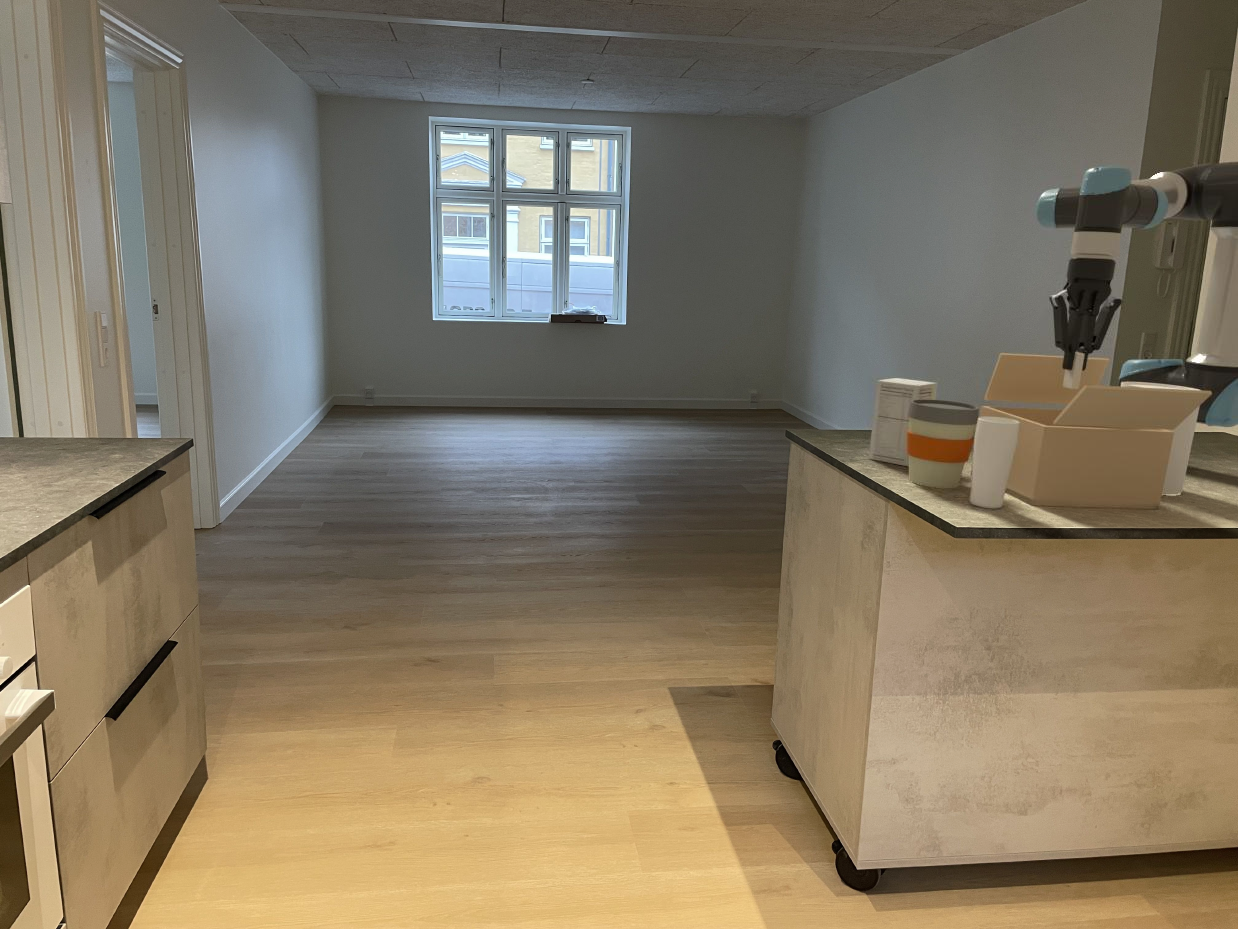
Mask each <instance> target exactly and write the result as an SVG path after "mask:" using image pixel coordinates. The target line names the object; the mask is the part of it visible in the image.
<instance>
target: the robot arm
mask: <svg viewBox="0 0 1238 929" xmlns="http://www.w3.org/2000/svg"><path fill="white" fill-rule="evenodd" d="M1035 211H1036V212H1035V216H1036V220H1037V221H1038V223H1039V225H1040V226H1042V227H1044V228H1049V229H1050V228H1051V229H1055V230H1056V229H1074V230H1073V237H1072V241H1071V249H1070V250H1071V251H1070V254H1071V255H1072V256H1073V257H1071V258H1070V259H1069V260H1068V265H1067V271H1066V279H1067V280H1066V283H1065V285H1064V286H1063V289H1062V291H1060V292H1058V293H1057V294H1051V295H1050V296H1049V298H1048V299H1049V302H1050V304H1051V306H1052V312H1053V315H1052V316H1053V330H1054V346H1055V347H1056V348H1059V349H1061V351H1062V352H1064V355H1063V356H1064V359H1063V365H1062V367H1063V369H1065V375H1064V381H1063V387H1066V388H1070V389H1079V384H1080V378H1081V372H1082V371H1084V370H1085V369H1086V365H1087V359H1088V358H1089V355H1090V354H1092V353H1094V351H1099V350H1100V349H1101V347H1102V344H1103V342H1104V340H1105V338H1106V335H1107V332H1108V330H1109V328H1110V325H1111V323H1112V320H1113V318H1114V315H1115V313H1116V311H1117V310H1118V309H1119V307H1120V306H1121V305H1122V304H1123V300H1122V299H1121V298H1117V297H1115V296H1114V295H1113V294H1112V286H1111V282H1112V280H1113V279H1114V275H1115V270H1116V264H1117V262H1116V260H1115V259H1114V258H1115V257H1117V256H1119V255H1118V254H1119V247H1120V241H1121V233H1122V230H1123V229H1125V228H1126V229H1133V230H1146V229H1152V228H1154V227H1156V226H1157V225H1159V224H1160V223H1161V222H1162V221H1163V220H1166V219H1176V220H1178V219H1179V220H1191V221H1205V222H1207V221H1211V225H1210V231H1211V232H1212V233H1213V234H1214V235H1215V236H1216V238H1217V240H1216V244H1215V248H1214V256H1213V259H1212V260H1213V261H1212V265H1211V271H1210V276H1209V282H1208V289H1207V293H1206V298H1205V304H1204V307H1203V315H1202V320H1201V326H1200V330H1199V336H1198V341H1197V347H1196V351H1195V353H1193V355H1191V356H1189V357H1188V358H1186V360H1185V366H1184V361H1183V360H1182V359H1179V358H1177V359H1176V358H1175V359H1172V358H1171V359H1166V358H1163V359H1162V358H1159V359H1156V358H1155V359H1154V358H1153V359H1152V358H1150V359H1129V360H1126V361H1125V362H1124V363H1123V364H1122V367H1121V370H1120V371H1121V372H1120V374H1119V377H1118V384H1117V386H1119V387H1121V383H1122V382H1146V383H1158V384H1167V385H1175V386H1183V387H1189V388H1194V389H1199V390H1202V391H1211V392H1212V394H1211V395H1210V396H1209V397H1208V398H1207V399H1206V400H1205V401H1204V402H1203V403H1202V404H1201V405H1200V407H1199V411H1198V416H1197V421H1196V424H1202V425H1205V426H1208V427H1222V428H1223V427H1224V428H1233V427H1236V426H1237V425H1238V161H1229V162H1212V163H1202V164H1197V165H1193V166H1188V167H1187V166H1186V167H1184V168H1179V169H1174V170H1169V171H1163V172H1162V171H1161V172H1159V173H1157V174H1155V175H1153V176H1151V177H1150V178H1147V179H1146V178H1145V179H1137V180H1136V179H1135V180H1132V172H1131V169H1129V168H1127V167H1122V166H1098V167H1091V168H1089V169H1087V170H1085V172H1084V174H1083V178H1082V183H1081V186H1077V187H1067V188H1066V187H1058V188H1052V189H1047V190H1045V191H1044V192H1042V194H1041V195H1040V196H1039V198H1038V201H1037V203H1036V210H1035ZM1122 228H1123V229H1122ZM1067 303H1068V304H1069V306H1068V307H1067ZM1102 305H1103V306H1102ZM1101 306H1102V307H1101Z"/></svg>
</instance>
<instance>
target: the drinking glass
mask: <svg viewBox="0 0 1238 929" xmlns="http://www.w3.org/2000/svg"><path fill="white" fill-rule="evenodd" d="M1019 427H1020V422H1019V421H1016V420H1012V419H1007V418H1000V417H980V416H978V421H977V424H976V426H975V430H974V436H973V437H974V442H973V449H972V450H973V451H972V454H973V455H972V463H973V466H972V465H971V470H972V476H971V484H970V495H969V502H970V504H971V505H973V506H976V507H978V508H982V509H992V510H993V509H994V510H995V509H999V508H1002V507H1003V504H1004V500H1005V499H1004V498H1005V494H1006V493H1005V490H1006V486H1007V482H1008V478H1009V474H1010V470H1011V466H1012V463H1013V459H1014V455H1015V451H1016V447H1017V442H1018V435H1019Z"/></svg>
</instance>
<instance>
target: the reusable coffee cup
mask: <svg viewBox="0 0 1238 929" xmlns="http://www.w3.org/2000/svg"><path fill="white" fill-rule="evenodd" d="M979 408H980V407H979V406H977V405H974V404H971V403H967V402H961V401H960V402H959V401H954V400H953V401H952V400H945V399H936V400H933V399H915V400H911V403H910V407H909V411H908V416H909V429H908V430H907V454H908V455H909V466H908V480H909V481H910V482H911V481H912V482H911V483H913V482H914V483H913V484H915V483H918V484H917V485H919V484H921V485H920V486H923V485H925V486H924V487H928V486H929V487H930V488H934V487H936V488H935V489H955V488H958V487H959V485H960V481H961V477H962V474H963V472H964V471H963V470H964V468H965V467H964V466H965V464H966V463H967V462H968V461H969V459H970V455H971V452H972V450H973V449H972V448H973V446H974V437H975V436H974V434H975V431H976V425H977V421H978V418H979V416H980V410H979Z"/></svg>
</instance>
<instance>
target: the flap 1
mask: <svg viewBox="0 0 1238 929" xmlns="http://www.w3.org/2000/svg"><path fill="white" fill-rule="evenodd" d="M1063 359H1064V355H1047V354H1026V353H1025V354H1023V353H1008V352H1006V353H1004V352H999V356H998V358H997V361H996V363H995V364H996V365H995V367H994V368H993V369H994V370H993V372H992V376H991V377H990V380H989V384H988V387H987V390H986V392H985V396H984V398H983V399H984V401H988V402H1007V403H1010V402H1012V403H1026V404H1027V403H1030V404H1034V403H1035V404H1049V405H1050V404H1051V405H1052V404H1054V405H1068V404H1069V403H1070V402H1071V401H1072V399H1073V398H1074V397H1075V396H1076V395H1077V394H1078V392H1079V391H1080V390H1081V389H1082V388H1083V387H1084V386H1085V385H1098V386H1100V384H1101V381H1102V379H1103V377H1104V374H1105V372H1106V369H1108V368H1107V367H1108V365H1109V362H1110V359H1109V358H1104V357H1088V359H1087V365H1086V369H1085V370H1084V371H1082V372H1081V378H1080V384H1079V389H1070V388H1066V387H1063V381H1064V375H1065V369H1063V367H1062V365H1063Z"/></svg>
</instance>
